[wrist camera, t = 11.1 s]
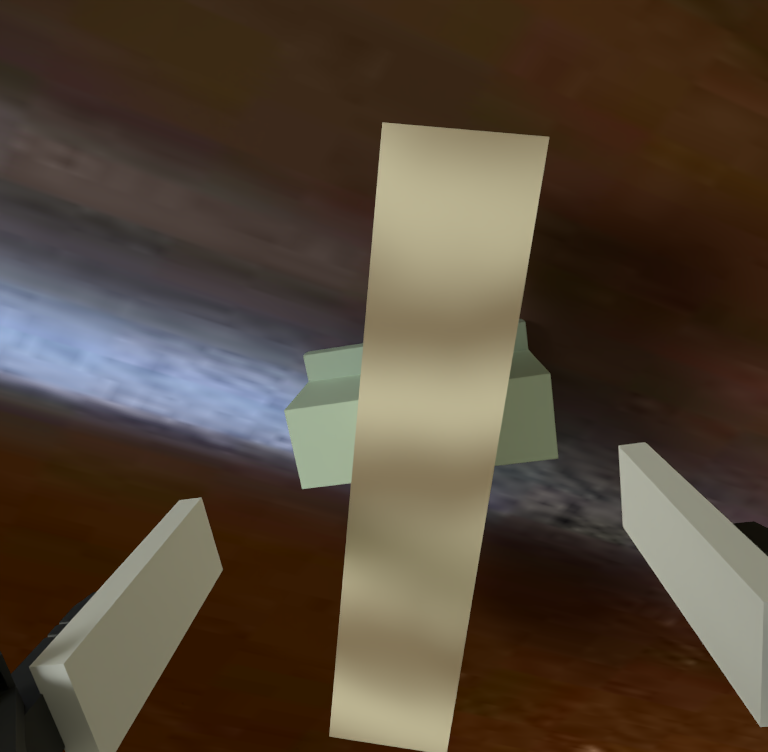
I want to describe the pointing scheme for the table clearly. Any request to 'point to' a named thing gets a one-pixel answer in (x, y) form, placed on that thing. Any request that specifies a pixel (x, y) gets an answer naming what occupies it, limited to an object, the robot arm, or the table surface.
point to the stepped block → (340, 405)
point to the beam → (429, 419)
